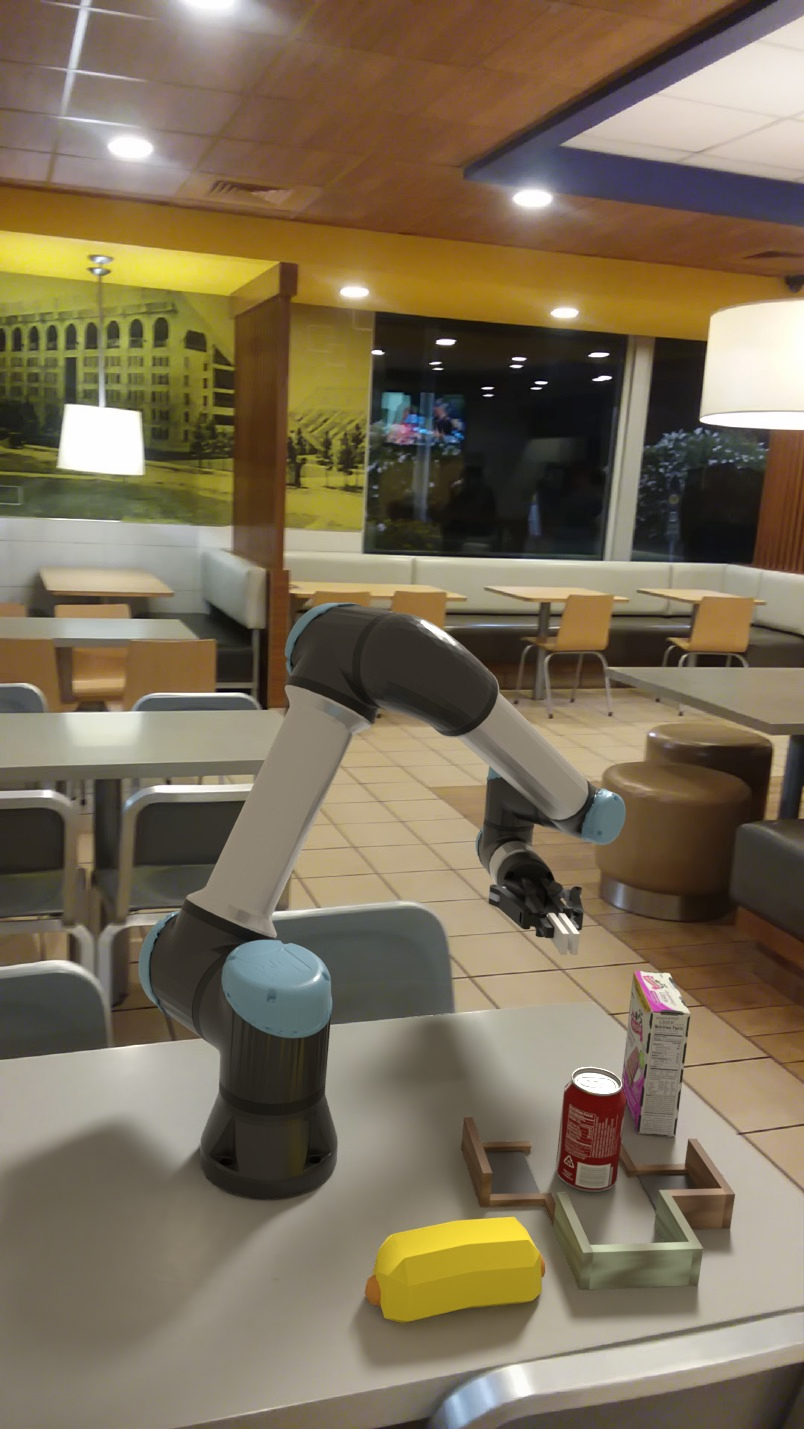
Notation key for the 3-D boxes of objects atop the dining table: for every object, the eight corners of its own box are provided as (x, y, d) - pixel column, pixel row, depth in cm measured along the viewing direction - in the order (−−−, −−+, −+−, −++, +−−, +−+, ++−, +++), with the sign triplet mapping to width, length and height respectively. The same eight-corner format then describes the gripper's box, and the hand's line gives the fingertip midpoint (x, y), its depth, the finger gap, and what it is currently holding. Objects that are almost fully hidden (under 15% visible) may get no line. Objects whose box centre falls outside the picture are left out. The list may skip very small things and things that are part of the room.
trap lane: (507, 1292, 101) (511, 1255, 101) (460, 1148, 124) (463, 1116, 123) (765, 1282, 105) (771, 1246, 104) (675, 1144, 128) (679, 1113, 127)
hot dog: (352, 1281, 102) (374, 1341, 95) (357, 1218, 100) (379, 1275, 93) (527, 1254, 107) (560, 1310, 100) (533, 1194, 106) (567, 1246, 99)
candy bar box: (617, 1086, 140) (632, 968, 137) (656, 1089, 140) (671, 971, 137) (635, 1136, 129) (650, 1009, 126) (676, 1139, 129) (693, 1012, 126)
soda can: (615, 1202, 116) (628, 1101, 114) (553, 1190, 117) (564, 1090, 115) (616, 1166, 122) (627, 1069, 120) (556, 1155, 124) (567, 1059, 121)
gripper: (565, 902, 153) (621, 973, 130) (472, 900, 151) (512, 973, 128) (571, 851, 152) (628, 915, 129) (476, 849, 150) (517, 913, 127)
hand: (570, 944), depth 129 cm, fingers closed
